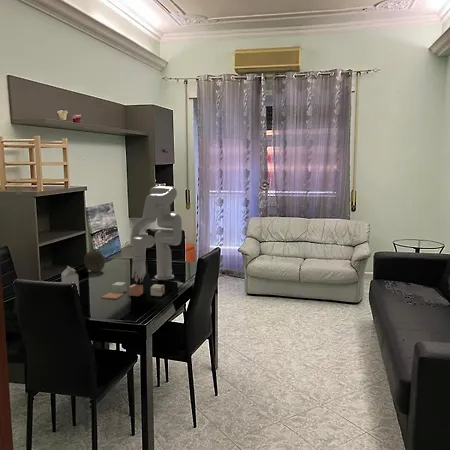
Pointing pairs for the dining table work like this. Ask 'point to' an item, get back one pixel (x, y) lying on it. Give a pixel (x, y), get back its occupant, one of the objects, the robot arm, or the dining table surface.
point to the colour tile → (113, 295)
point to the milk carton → (70, 276)
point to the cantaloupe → (94, 261)
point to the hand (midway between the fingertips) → (140, 288)
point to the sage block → (119, 287)
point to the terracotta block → (135, 290)
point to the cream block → (157, 290)
